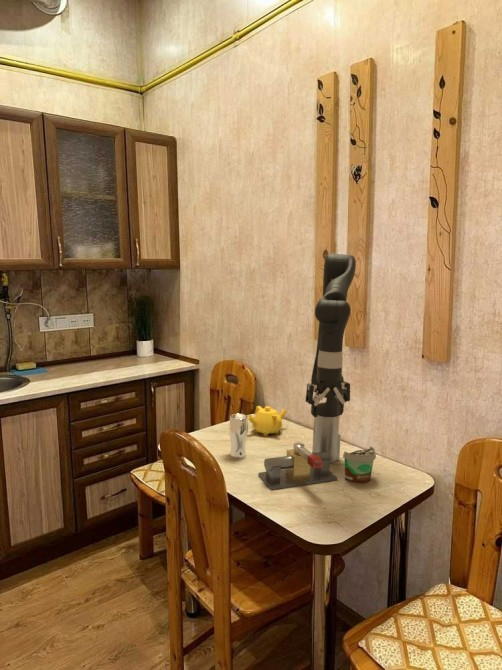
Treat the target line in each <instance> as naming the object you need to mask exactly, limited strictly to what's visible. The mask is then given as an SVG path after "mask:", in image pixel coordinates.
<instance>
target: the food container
mask: <svg viewBox="0 0 502 670" xmlns="http://www.w3.org/2000/svg"><path fill="white" fill-rule="evenodd" d="M342 455H343V456H342V458H343V459H344V479H345V481H348V482H350V483H354V484H366V483H369V482H370V481H371V478H372V472H373V466H374V460H376V458H377V454H376V450H375V448H374V447H372V446H370V447H369V448H368V449H359V450H355V451H352V452H347V451H344V453H343V454H342Z"/></svg>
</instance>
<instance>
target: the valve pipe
mask: <svg viewBox="0 0 502 670" xmlns="http://www.w3.org/2000/svg"><path fill="white" fill-rule="evenodd" d="M311 453H312V452H311ZM312 454H313V455H315V454H316V455H317V456H318V457H320V458H321V459H322V467H321V468H312V467H311V466H310V465H309V464H308V463H307V462H308V461H307V460H305V459H304V458H303V457H302V456H301V455H300V454H296V453H294V452H293V449H286V456H277V457H276V456H275V457H270V458H269V457H268V458H265V459H264V462H263V466H264V469H265V471H260V472H258V473H257V475H258V477H259V478H260V480H262V482H263V483H264V484H265V485H266V486H267V488H268V489H269V490H270V491H275V490H282V489H288V488H295V487H301V486H303V487H304V486H308V485H315V484H320V483H328V482H334V481H338V477H337V476H336V475H335V474H334V473H332V472H331V471H330V463H331V460H332V458H331V454H330V452H329V451H324V452H316V453H312Z"/></svg>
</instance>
